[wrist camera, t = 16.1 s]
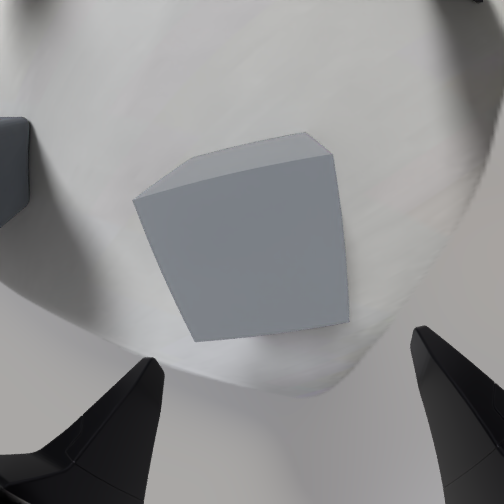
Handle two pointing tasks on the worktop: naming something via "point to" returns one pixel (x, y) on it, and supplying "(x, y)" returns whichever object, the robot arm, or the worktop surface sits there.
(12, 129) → the storage bin
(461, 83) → the worktop surface
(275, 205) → the matte grey cube
